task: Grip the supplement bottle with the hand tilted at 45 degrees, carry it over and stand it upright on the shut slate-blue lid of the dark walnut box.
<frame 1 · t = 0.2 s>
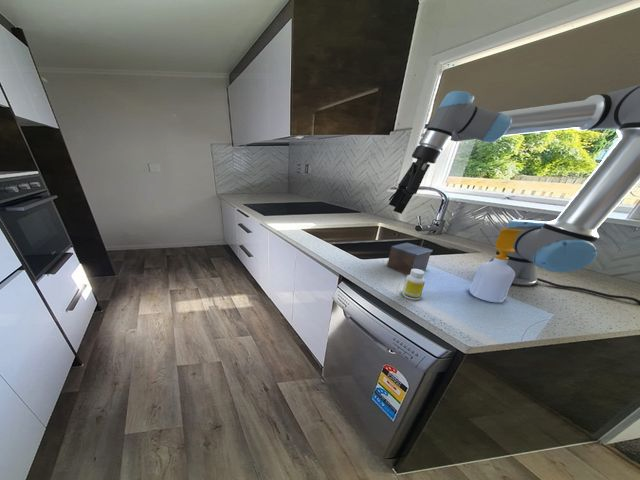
hand: (394, 208, 88), 28 cm above the counter, tool tilted 20°, fingers open, 13 cm apart
soap bottle: (485, 296, 85), on the counter
box lid: (411, 248, 102), point 9 cm above the counter, hinge at 0.0°
box: (405, 268, 106), on the counter
supplement bottle: (410, 296, 85), on the counter
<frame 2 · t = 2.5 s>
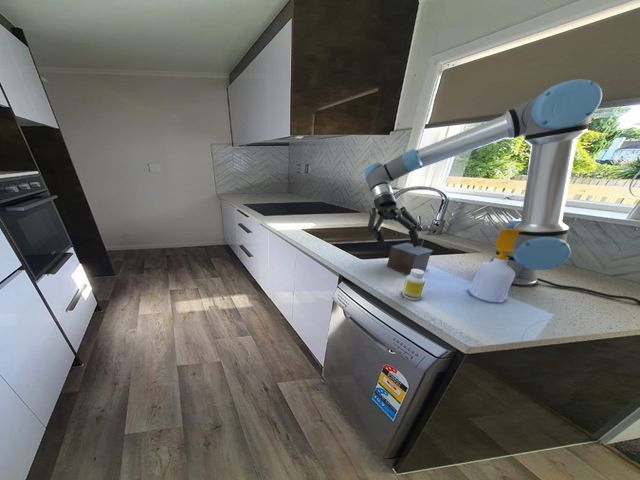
hand: (400, 246, 89), 15 cm above the counter, tool tilted 45°, fingers open, 13 cm apart
nothing on the counter moved.
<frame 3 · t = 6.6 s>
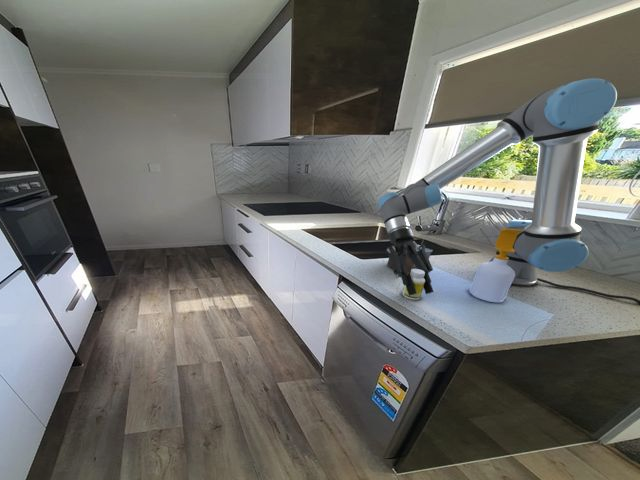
hand: (421, 293, 80), 3 cm above the counter, tool tilted 45°, fingers closed on supplement bottle, 5 cm apart
supplement bottle: (410, 296, 85), on the counter, touching gripper
everything else where it was.
when the fingers open (13 cm above the counter, at t = 14.9 s): supplement bottle stays where it is, resting on box lid.
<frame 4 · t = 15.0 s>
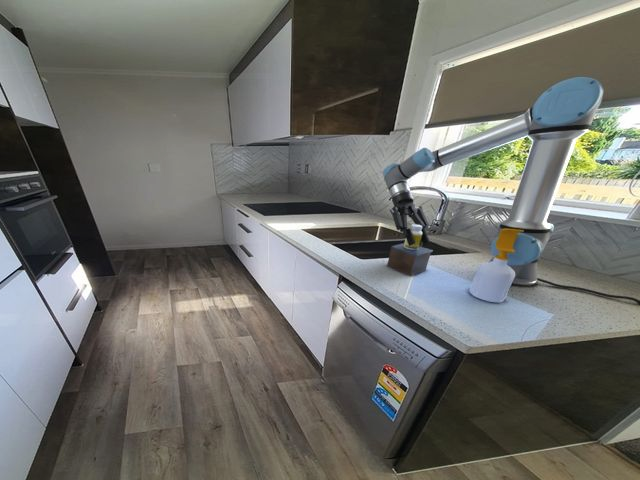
hand: (419, 243, 97), 13 cm above the counter, tool tilted 45°, fingers open, 6 cm apart
box lid: (411, 248, 102), point 9 cm above the counter, hinge at -0.3°, touching box, supplement bottle
supplement bottle: (410, 248, 102), point 9 cm above the counter, touching box lid
everything else where it was.
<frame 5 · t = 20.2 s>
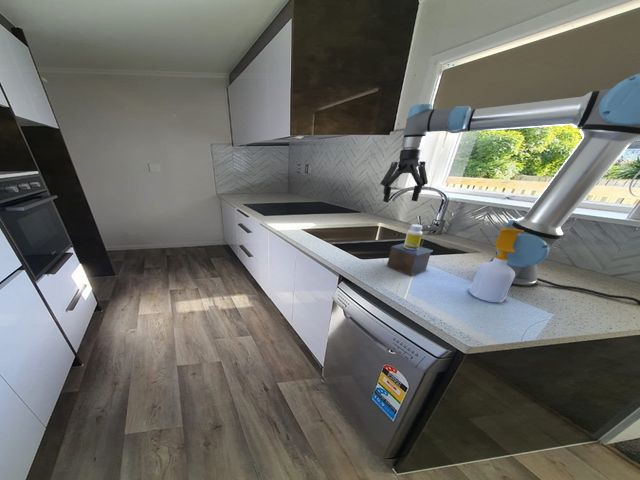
hand: (400, 201, 107), 27 cm above the counter, tool pointing down, fingers open, 13 cm apart
nothing on the counter moved.
at the end: supplement bottle inside the target area on the box (0.1 cm from its centre), point 9.2 cm above the box's base; supplement bottle tilted 0°; box lid at +0° (first picture: +0°) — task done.
